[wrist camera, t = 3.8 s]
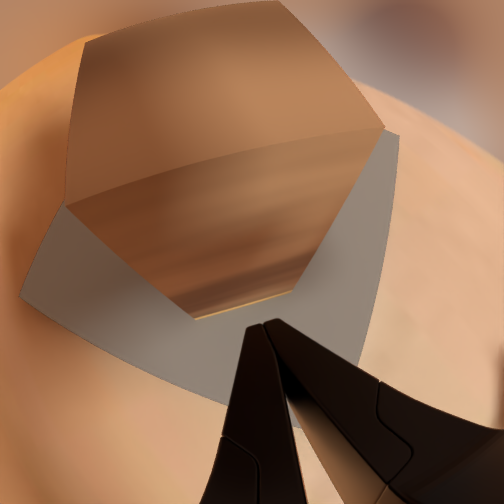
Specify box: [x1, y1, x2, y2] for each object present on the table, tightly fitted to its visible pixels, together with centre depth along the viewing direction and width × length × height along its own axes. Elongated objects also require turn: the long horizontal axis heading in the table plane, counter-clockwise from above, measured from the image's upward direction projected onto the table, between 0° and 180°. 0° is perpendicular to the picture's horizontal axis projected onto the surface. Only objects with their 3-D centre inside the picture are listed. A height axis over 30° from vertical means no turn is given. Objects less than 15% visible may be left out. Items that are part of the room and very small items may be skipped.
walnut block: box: [65, 1, 385, 320], centre depth 10 cm, size 5×5×12 cm
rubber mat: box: [19, 130, 399, 429], centre depth 18 cm, size 20×20×1 cm
